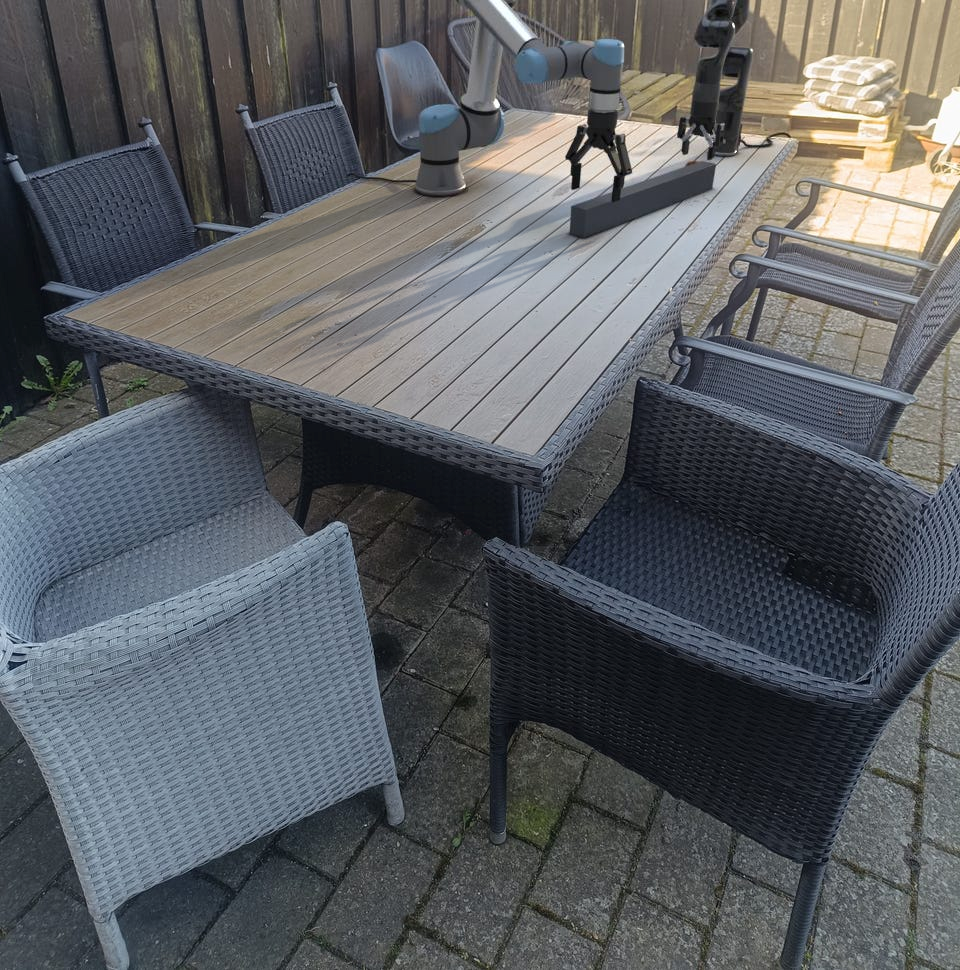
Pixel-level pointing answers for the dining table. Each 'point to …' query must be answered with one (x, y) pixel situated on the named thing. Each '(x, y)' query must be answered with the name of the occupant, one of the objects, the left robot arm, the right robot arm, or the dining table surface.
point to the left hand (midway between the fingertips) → (595, 194)
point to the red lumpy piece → (690, 163)
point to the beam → (641, 199)
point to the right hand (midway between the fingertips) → (697, 157)
